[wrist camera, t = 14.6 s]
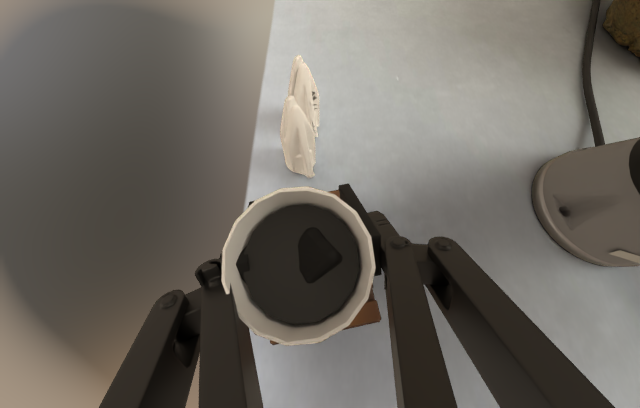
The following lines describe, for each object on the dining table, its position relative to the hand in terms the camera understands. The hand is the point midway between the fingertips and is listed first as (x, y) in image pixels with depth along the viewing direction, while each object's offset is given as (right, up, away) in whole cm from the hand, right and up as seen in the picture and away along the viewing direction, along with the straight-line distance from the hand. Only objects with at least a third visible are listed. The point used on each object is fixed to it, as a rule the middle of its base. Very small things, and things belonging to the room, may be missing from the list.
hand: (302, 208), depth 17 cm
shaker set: (-1, +9, +16) cm, 18 cm away
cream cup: (0, -5, +2) cm, 5 cm away
